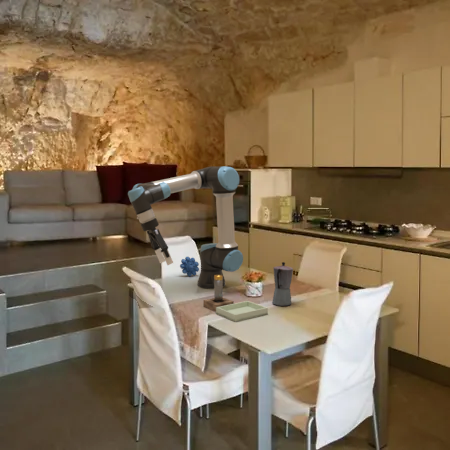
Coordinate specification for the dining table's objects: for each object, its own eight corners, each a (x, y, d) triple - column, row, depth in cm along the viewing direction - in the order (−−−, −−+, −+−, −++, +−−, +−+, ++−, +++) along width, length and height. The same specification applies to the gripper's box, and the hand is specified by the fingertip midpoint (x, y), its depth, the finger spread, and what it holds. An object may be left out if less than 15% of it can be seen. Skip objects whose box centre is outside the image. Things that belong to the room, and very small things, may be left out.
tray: (247, 307, 230) (247, 300, 230) (267, 314, 219) (267, 307, 219) (216, 313, 220) (216, 307, 219) (235, 321, 208) (235, 315, 208)
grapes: (181, 278, 287) (181, 258, 286) (179, 276, 294) (178, 256, 292) (201, 277, 291) (201, 257, 290) (198, 274, 298) (197, 255, 296)
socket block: (220, 302, 237) (220, 296, 237) (233, 307, 229) (233, 301, 229) (203, 306, 231) (203, 300, 231) (215, 311, 223) (215, 305, 223)
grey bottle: (219, 305, 233) (219, 274, 231) (224, 307, 230) (224, 275, 228) (212, 306, 231) (212, 275, 229) (217, 308, 228) (217, 276, 226)
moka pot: (295, 301, 240) (296, 260, 238) (288, 309, 226) (289, 266, 224) (275, 299, 244) (276, 259, 241) (268, 307, 229) (268, 265, 227)
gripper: (135, 224, 235) (152, 264, 237) (146, 223, 211) (166, 268, 214) (149, 217, 237) (166, 258, 240) (162, 216, 214) (181, 261, 217)
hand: (166, 263), depth 227 cm, fingers open, 13 cm apart
